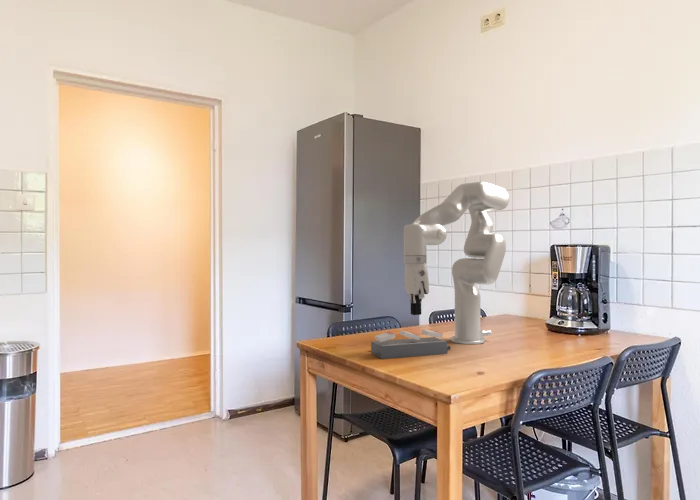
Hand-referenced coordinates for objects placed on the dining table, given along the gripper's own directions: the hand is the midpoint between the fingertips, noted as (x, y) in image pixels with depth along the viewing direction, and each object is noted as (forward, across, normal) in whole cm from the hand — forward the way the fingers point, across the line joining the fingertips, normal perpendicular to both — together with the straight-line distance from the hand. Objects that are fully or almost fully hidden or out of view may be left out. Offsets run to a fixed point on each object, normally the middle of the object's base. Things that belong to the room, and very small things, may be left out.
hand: (416, 314), depth 165 cm
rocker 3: (+8, 0, -6) cm, 10 cm away
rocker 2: (+8, 0, +3) cm, 8 cm away
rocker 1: (+7, 0, +11) cm, 14 cm away
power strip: (+13, 0, +1) cm, 13 cm away
